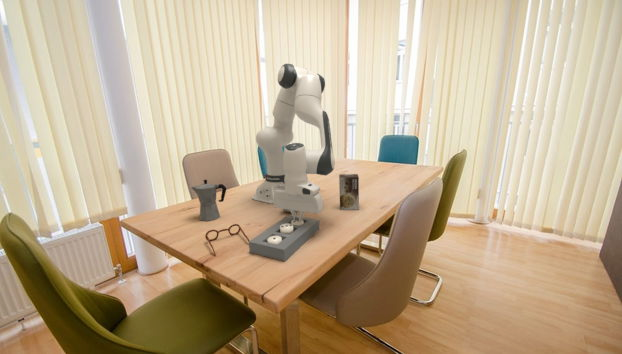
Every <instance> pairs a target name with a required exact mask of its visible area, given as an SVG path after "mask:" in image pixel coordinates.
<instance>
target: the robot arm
mask: <svg viewBox="0 0 622 354" xmlns="http://www.w3.org/2000/svg"><path fill="white" fill-rule="evenodd" d="M277 82H278V85H279V86H280V89H279V92H278V95H277V97H276V99H275V103H274V106H273V110H272V117H273V118H274V119H273V120H274V121H273V125H272V126H270V127H264V128H262V129H260V130H259V131H257V133H256V135H255V141H256V143H257V146H258V147H259V149H261V151H262V152H263V154H264V157H265V161H266V171H267V173H266V174H264V175H263V178H265V180H264V181H262V182H261V184H259V185H258V186H257V187H256V190H255V191H256V192H255V194H254V195H253V196H252V197H251V199H252V200H254V201H258V202H261V203H265V204H273V206H274V208H276V209H281V210H283V209H287V210H291V212H290V213H291V214H290V215H292V216H293V217H294V221H299V222H301V221H302V217H304V215H305V213H310V214H314V215H315V214H316V215H317V214H318V215H319V213H321V212H322V211H323V209H324V208H323V207H324V205H323V204H324V203H323V197H322V196H323V195H322V194H321V193H320V191H321V186H320V185H319V184H316V183H313V182H311V181H309V180H308V175H319V176H329V174H331V173H332V172H333V171H334V169H335V164H336V161H335V156H334V151H333V150H334V149H333V142H332V133H331V132H332V131H331V127H330V126H331V125H330V118H329V115H328V113H327V111H325V110H324V109H323V107H322V99H323V98H322V97H323V95H322V94H323V93H324V90H325V87H326V80H325V78H324V77H323V76H322V75H321V74H319V73H316V72H314V71H312V70H311V69H308V68H303V67H301V66H297V65H293V63H292V64H291V63H284V64H283V65H282V66H281V67H280V69H279V70H278V73H277ZM296 116H297V117H298V118H299V119H300V120H301V121H302V122H305V123H307V124H308V125H312V126H314V127H316V128H318V130H319V137H320V148H319V149H306V147H305V144H303V143H299V142H293V143H292V141H293V140H294V132H293V125H294V119H295V117H296ZM283 147H284V148H283ZM283 149H284V150H283ZM297 212H298V214H299V215H298V214H297Z"/></svg>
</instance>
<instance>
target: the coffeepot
mask: <svg viewBox="0 0 622 354" xmlns="http://www.w3.org/2000/svg"><path fill="white" fill-rule="evenodd" d="M191 189H192V190H193V191H194V193H195V194H196V195H197V197H198V202H199V205H200V206H199V221H202V222H212V221H215V220H217V219H219V218H220V217H221V215H220V212H219V208H218V204H217V201H218V202H219V203H222V202H224V199H225V196H226V193H227V187H226V186H225V185H224V184H222V183H209V182H208V179H203V183H202V184H199V185H194V186H192V187H191ZM218 189H222V190H221V196H220V199H218V200H217V190H218Z"/></svg>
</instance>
